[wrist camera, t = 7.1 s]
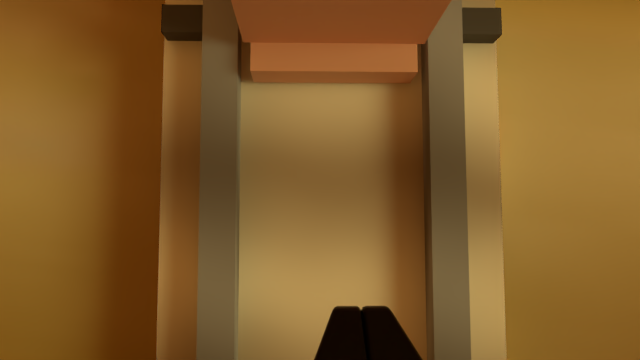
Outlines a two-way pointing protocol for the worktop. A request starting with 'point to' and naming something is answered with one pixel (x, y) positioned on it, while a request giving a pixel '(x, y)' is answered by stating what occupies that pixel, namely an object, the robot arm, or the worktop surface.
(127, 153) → the worktop surface
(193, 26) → the slider board
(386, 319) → the robot arm
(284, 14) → the fader tab
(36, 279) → the worktop surface
